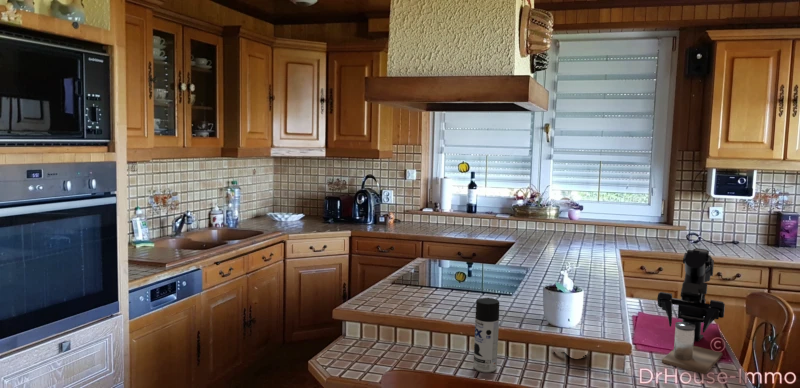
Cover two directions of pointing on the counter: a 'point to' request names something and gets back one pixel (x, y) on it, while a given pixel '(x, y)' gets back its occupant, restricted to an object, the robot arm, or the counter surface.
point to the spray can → (486, 335)
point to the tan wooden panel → (695, 360)
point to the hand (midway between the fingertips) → (686, 328)
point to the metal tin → (684, 340)
